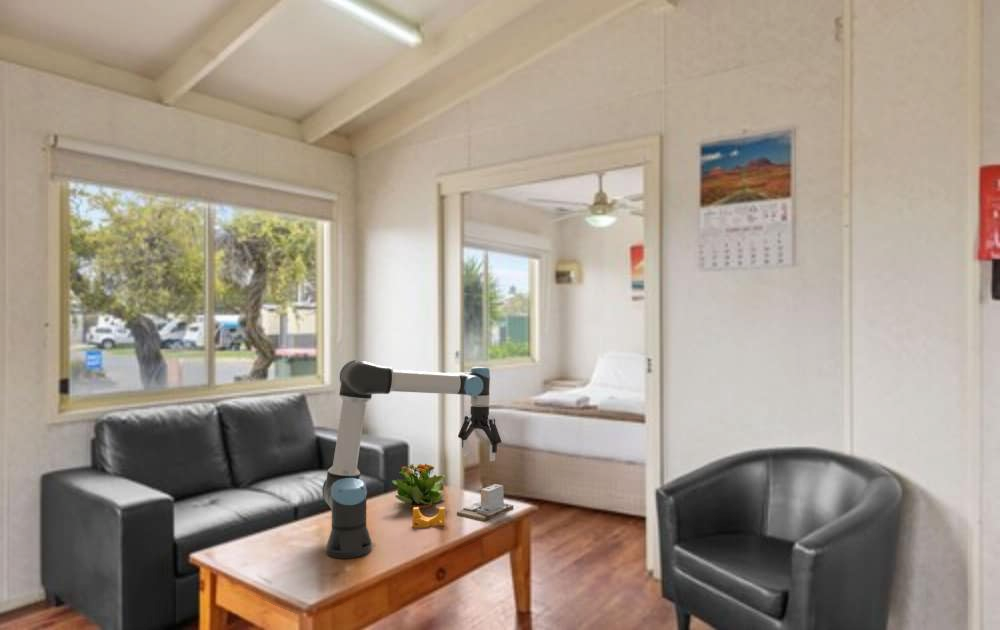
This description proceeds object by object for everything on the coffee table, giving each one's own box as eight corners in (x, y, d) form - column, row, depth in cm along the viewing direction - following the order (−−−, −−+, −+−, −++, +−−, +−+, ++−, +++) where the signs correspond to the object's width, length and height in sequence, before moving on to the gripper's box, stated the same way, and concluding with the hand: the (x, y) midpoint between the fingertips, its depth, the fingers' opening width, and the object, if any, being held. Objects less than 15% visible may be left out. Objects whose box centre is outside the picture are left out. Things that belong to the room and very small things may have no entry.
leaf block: (488, 513, 244) (488, 490, 244) (481, 511, 246) (480, 489, 246) (503, 507, 252) (503, 485, 252) (495, 505, 254) (495, 483, 254)
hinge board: (484, 521, 239) (484, 515, 239) (456, 514, 247) (456, 509, 247) (513, 508, 255) (513, 502, 255) (486, 502, 263) (486, 497, 263)
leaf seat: (488, 515, 242) (488, 511, 242) (476, 512, 246) (476, 509, 246) (507, 507, 252) (507, 503, 253) (496, 504, 256) (496, 501, 256)
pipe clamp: (412, 527, 233) (412, 510, 233) (414, 523, 237) (413, 507, 237) (443, 527, 233) (443, 510, 233) (445, 523, 237) (444, 506, 237)
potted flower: (452, 512, 250) (452, 469, 250) (394, 517, 244) (394, 474, 244) (442, 495, 274) (441, 456, 274) (388, 500, 268) (388, 460, 268)
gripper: (450, 403, 250) (449, 455, 250) (499, 409, 236) (498, 464, 235) (461, 401, 256) (460, 452, 256) (510, 407, 242) (509, 461, 241)
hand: (478, 458), depth 246 cm, fingers open, 13 cm apart
